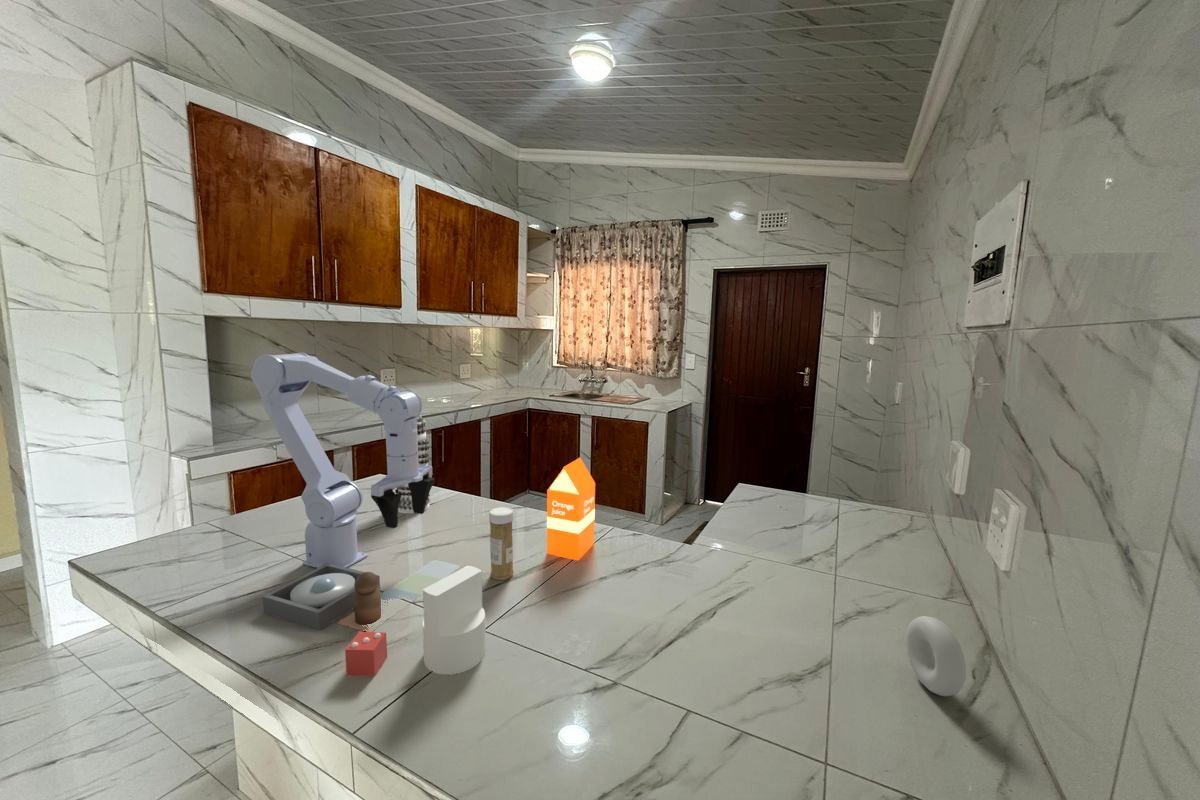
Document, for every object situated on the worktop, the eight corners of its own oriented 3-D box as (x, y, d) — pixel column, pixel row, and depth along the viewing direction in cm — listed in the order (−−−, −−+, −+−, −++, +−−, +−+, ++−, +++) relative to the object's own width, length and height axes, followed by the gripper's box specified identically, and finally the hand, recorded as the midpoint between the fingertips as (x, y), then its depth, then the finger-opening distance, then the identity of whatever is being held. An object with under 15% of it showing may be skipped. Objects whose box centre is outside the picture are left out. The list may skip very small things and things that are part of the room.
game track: (337, 623, 81) (337, 622, 81) (433, 560, 103) (433, 559, 103) (370, 633, 79) (370, 632, 79) (461, 566, 101) (461, 565, 101)
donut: (897, 662, 74) (904, 601, 73) (920, 663, 74) (928, 602, 73) (940, 714, 65) (950, 644, 63) (967, 715, 65) (977, 645, 63)
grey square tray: (263, 612, 84) (262, 596, 83) (328, 577, 96) (327, 562, 95) (319, 630, 79) (318, 613, 79) (380, 590, 91) (379, 575, 91)
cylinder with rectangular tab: (452, 683, 68) (450, 603, 66) (410, 659, 73) (407, 584, 71) (498, 648, 76) (497, 575, 74) (457, 628, 81) (455, 559, 79)
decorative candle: (387, 512, 128) (382, 418, 125) (406, 500, 137) (403, 412, 134) (419, 515, 127) (416, 420, 123) (437, 502, 136) (434, 413, 132)
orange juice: (546, 553, 107) (546, 465, 104) (564, 538, 115) (565, 455, 112) (578, 560, 104) (580, 469, 101) (594, 544, 113) (596, 459, 109)
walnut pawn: (349, 621, 82) (346, 576, 80) (368, 608, 85) (366, 565, 84) (368, 627, 80) (365, 581, 79) (386, 614, 84) (384, 570, 83)
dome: (277, 608, 84) (275, 586, 84) (327, 580, 94) (326, 561, 93) (320, 621, 81) (319, 599, 80) (368, 591, 90) (367, 571, 90)
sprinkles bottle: (517, 577, 97) (516, 512, 95) (495, 583, 95) (494, 516, 93) (508, 567, 101) (507, 504, 99) (486, 573, 98) (485, 509, 96)
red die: (346, 675, 69) (344, 646, 69) (360, 656, 73) (358, 629, 73) (374, 676, 69) (373, 647, 69) (387, 657, 73) (385, 629, 73)
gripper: (391, 465, 88) (394, 537, 90) (443, 447, 101) (445, 510, 103) (360, 460, 90) (365, 531, 92) (415, 443, 104) (418, 505, 106)
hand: (405, 519), depth 98 cm, fingers open, 7 cm apart
